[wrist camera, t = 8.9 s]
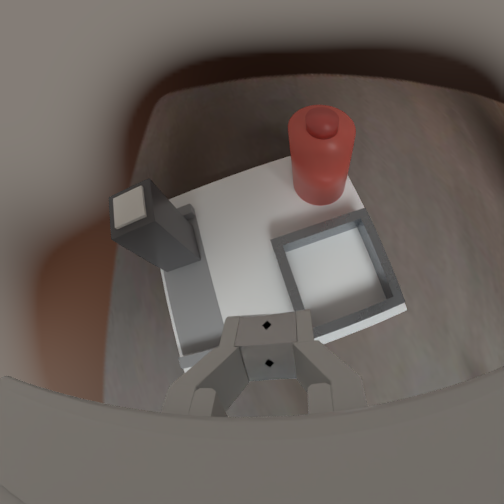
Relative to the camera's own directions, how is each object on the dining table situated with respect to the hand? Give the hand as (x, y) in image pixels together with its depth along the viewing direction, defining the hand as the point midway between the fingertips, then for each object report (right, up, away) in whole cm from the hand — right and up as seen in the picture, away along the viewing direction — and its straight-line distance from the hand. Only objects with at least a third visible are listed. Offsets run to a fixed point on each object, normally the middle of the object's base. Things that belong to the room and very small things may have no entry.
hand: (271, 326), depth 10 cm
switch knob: (-7, +3, +17) cm, 19 cm away
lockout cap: (+6, +9, +17) cm, 20 cm away
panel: (+1, +2, +16) cm, 17 cm away
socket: (+6, +1, +14) cm, 15 cm away
